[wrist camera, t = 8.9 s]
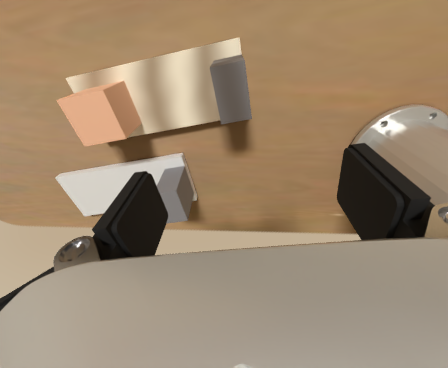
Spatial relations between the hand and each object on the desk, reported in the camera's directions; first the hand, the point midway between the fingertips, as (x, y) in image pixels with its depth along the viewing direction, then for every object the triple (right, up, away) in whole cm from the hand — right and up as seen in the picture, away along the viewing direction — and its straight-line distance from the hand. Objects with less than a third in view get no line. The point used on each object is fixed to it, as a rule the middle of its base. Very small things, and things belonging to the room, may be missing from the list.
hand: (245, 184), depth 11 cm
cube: (-14, +9, +16) cm, 23 cm away
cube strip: (-8, +11, +16) cm, 21 cm away
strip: (-16, 0, +24) cm, 29 cm away
